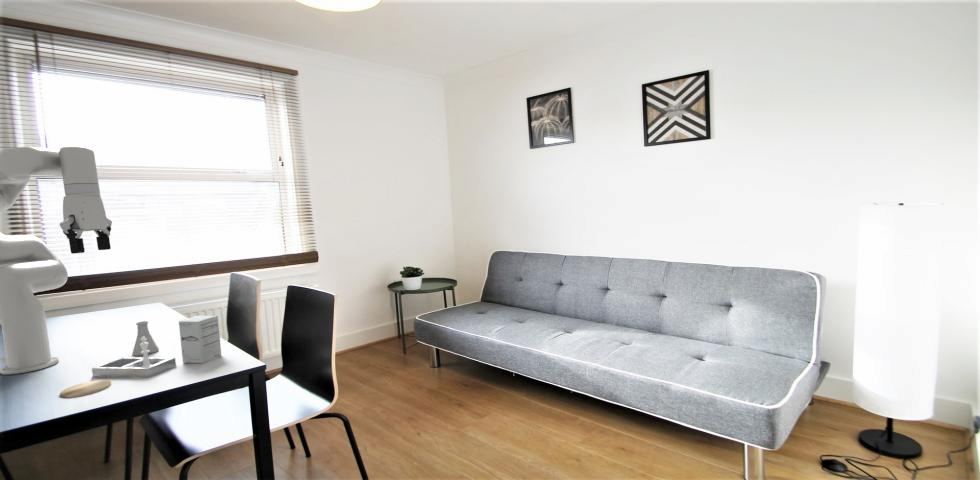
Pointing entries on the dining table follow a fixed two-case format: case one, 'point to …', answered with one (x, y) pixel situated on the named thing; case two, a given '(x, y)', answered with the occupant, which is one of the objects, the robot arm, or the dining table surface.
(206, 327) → the supplement box
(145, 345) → the chess piece
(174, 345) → the dining table surface
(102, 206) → the robot arm
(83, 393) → the coaster
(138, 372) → the divided tray
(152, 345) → the flask
